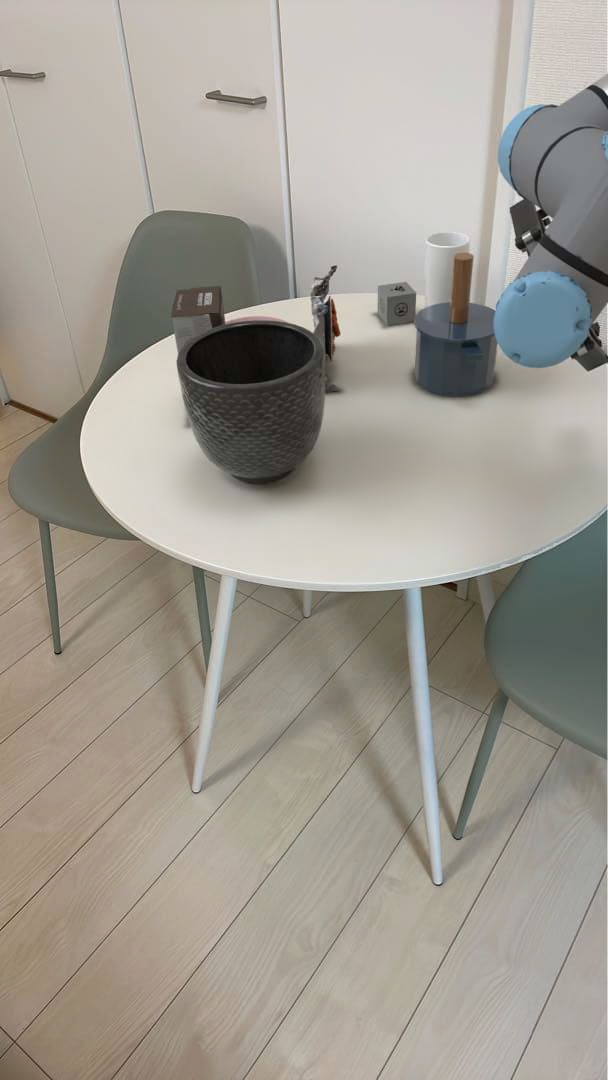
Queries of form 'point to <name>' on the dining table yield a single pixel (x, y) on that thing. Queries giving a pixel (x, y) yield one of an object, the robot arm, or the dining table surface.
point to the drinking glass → (441, 264)
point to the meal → (325, 318)
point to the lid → (457, 311)
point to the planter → (254, 396)
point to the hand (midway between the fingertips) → (563, 278)
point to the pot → (454, 366)
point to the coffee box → (196, 312)
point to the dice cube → (396, 303)
